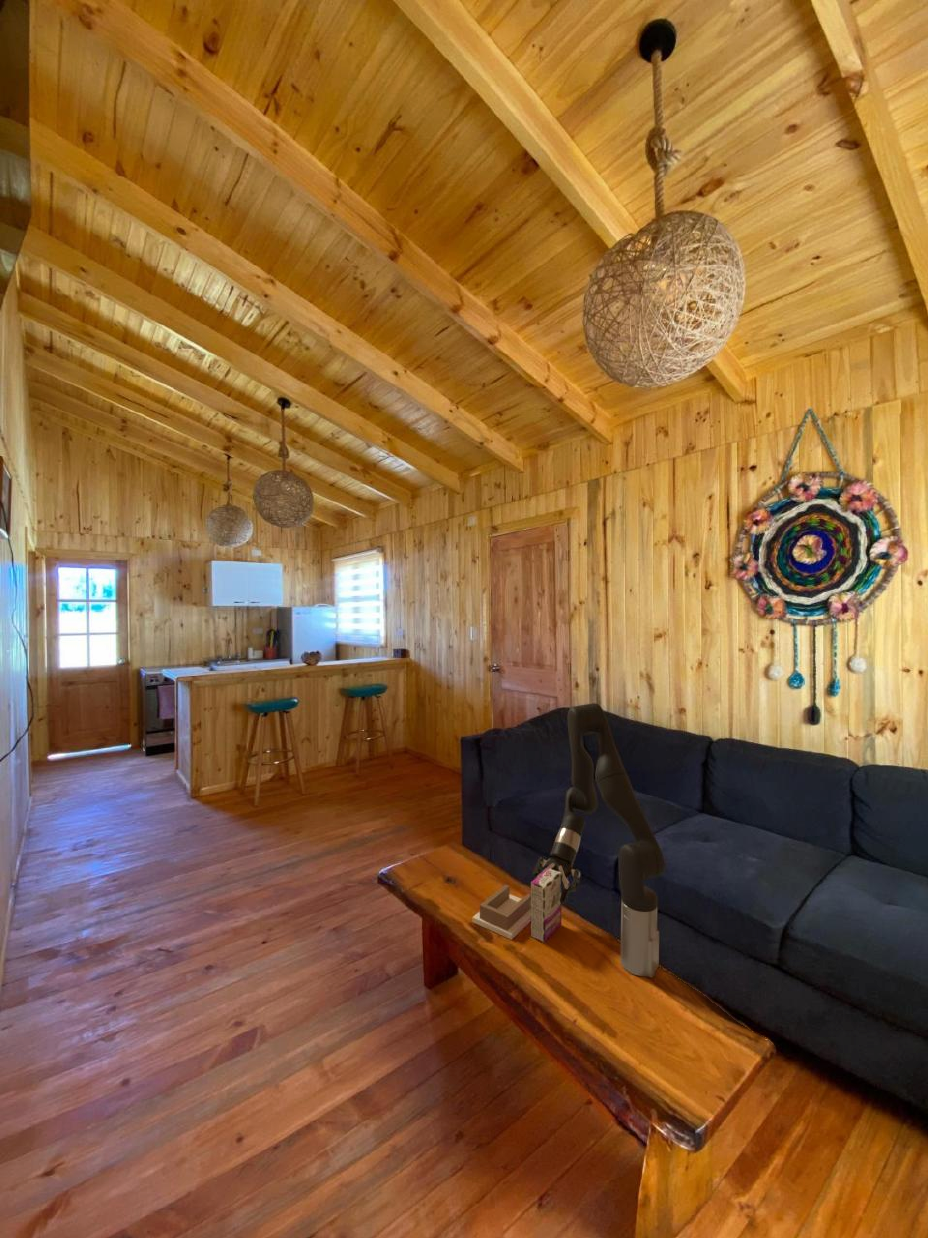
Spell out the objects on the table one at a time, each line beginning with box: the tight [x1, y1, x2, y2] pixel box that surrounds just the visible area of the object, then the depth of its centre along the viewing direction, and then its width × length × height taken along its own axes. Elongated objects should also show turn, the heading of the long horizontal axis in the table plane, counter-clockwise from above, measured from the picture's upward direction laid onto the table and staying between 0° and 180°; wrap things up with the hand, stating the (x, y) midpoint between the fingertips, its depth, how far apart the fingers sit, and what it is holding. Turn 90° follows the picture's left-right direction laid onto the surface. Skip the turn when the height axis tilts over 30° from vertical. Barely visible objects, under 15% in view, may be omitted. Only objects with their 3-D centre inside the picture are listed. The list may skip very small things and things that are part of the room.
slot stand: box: [471, 884, 531, 941], centre depth 161 cm, size 14×18×6 cm
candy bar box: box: [530, 867, 562, 943], centre depth 154 cm, size 11×5×16 cm, turn 143°
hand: (548, 898), depth 155 cm, fingers open, 8 cm apart
